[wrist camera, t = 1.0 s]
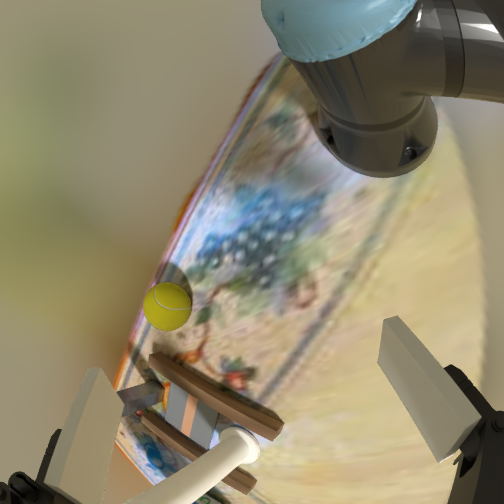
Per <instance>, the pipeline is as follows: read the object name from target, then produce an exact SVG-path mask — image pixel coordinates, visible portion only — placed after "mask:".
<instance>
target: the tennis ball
mask: <svg viewBox="0 0 504 504" xmlns="http://www.w3.org/2000/svg"><path fill="white" fill-rule="evenodd" d="M143 310H144V314H145V317H146V318H147V320H148V321H149V323H150V324H151V325H152V326H154V327H155V328H157V329H159V330H162V331H172V330H176V329H178V328H180V327H181V326H183V325H184V324H185V323H186V322H187V320H188V319H189V317H190V314H191V310H192V308H191V301H190V298H189V296H188V294H187V293H186V291H185V290H184V289H183V288H181V287H180V286H178V285H176V284H174V283H171V282H163V283H160V284H157V285H155V286H154V287H152V288H151V289H150V290H149V291H148V293H147V294H146V296H145V298H144V302H143Z"/></svg>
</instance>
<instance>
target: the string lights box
mask: <svg viewBox="0 0 504 504" xmlns="http://www.w3.org/2000/svg"><path fill="white" fill-rule="evenodd" d="M192 504H222V503H220V502H218V501H216V500H215V499H213V498H211V497H209V496H208V495H206V494H203V495H202V496H201V497H200V498H198V499H197V500H196V501H194V502H193V503H192Z"/></svg>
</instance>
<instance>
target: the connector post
mask: <svg viewBox="0 0 504 504" xmlns="http://www.w3.org/2000/svg"><path fill="white" fill-rule="evenodd" d="M164 391H165V388H163V387H162V386H161V385H159V384H158V383H157V382H155V381H154V380H153V381H150V382H147V383H143V384H140V385H137V386H134V387H131V388H127V389H124V390H121V391H117V392H116V393H117V394H118V396H119V397H120V399H121V400H122V402H123V403H124V408H123V412H122V416H121V417H123V416H126V415H129V414H131V413H134V412H137V411H139V410H142V409H144V408H147V407H150V406H152V405H155V404H157V403H160V402H162V401H163V397H164Z"/></svg>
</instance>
